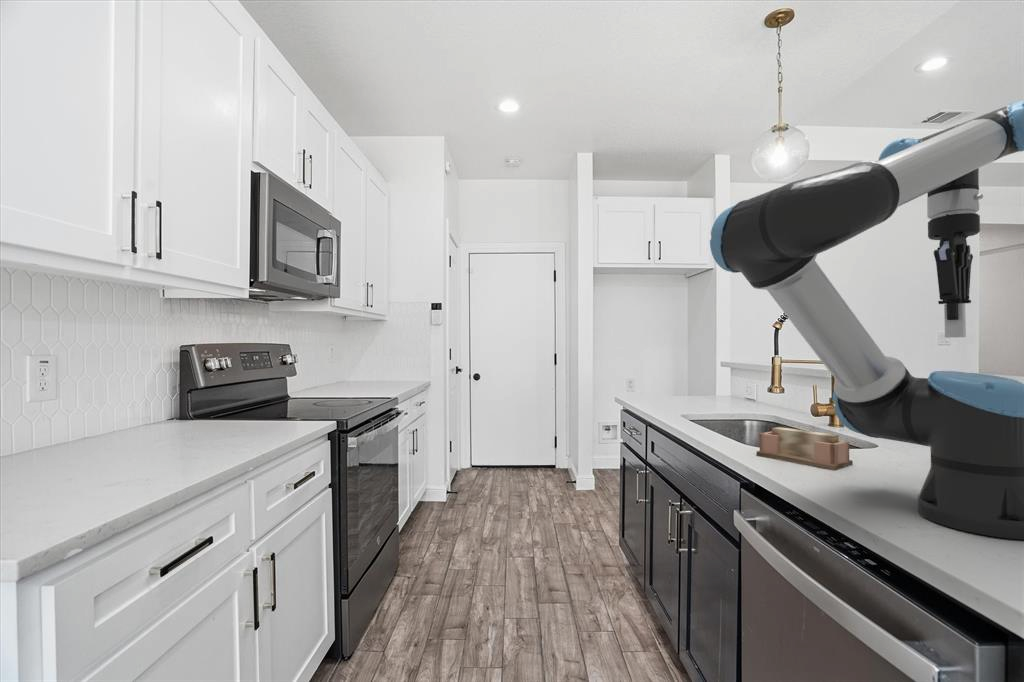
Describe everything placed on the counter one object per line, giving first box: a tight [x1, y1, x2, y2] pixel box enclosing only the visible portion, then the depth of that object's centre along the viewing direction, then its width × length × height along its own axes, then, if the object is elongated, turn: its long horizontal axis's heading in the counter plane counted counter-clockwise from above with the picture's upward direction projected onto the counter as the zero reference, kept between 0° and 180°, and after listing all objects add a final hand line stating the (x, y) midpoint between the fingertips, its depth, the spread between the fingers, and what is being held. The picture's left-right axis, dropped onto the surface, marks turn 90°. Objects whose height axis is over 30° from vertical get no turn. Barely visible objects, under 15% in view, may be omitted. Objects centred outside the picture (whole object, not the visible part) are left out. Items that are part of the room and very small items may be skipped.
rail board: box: [755, 450, 854, 471], centre depth 119 cm, size 9×18×1 cm, turn 32°
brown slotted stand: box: [758, 430, 850, 465], centre depth 119 cm, size 7×18×4 cm, turn 32°
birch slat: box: [771, 426, 839, 459], centre depth 118 cm, size 14×3×6 cm, turn 33°
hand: (955, 337), depth 95 cm, fingers closed
